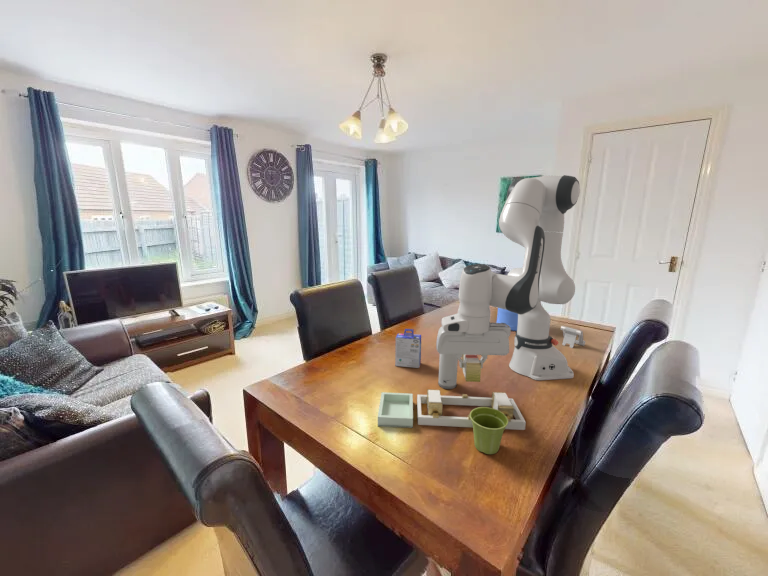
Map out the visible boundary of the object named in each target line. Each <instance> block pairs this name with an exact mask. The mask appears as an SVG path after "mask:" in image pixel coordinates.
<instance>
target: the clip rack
mask: <svg viewBox="0 0 768 576" xmlns="http://www.w3.org/2000/svg"><path fill="white" fill-rule="evenodd" d="M416 396H417V397H416V405H417V406H416V408H417V409H416V410H417V413H416V414H417V425H418V426H436V427H437V426H438V427H441V426H442V427H454V428H455V427H457V428H458V427H459V428H473V424H472V421H471V419H470V414H467V416H452V415H451V416H447V415H446V416H445V415H442V416H439V415H438V413H433V416H430V415H428V414H427V415H424V414H422V404H425V405H427V394H417V395H416ZM440 396H441V402H442V405H450V406H453V405H454V406H469V407H470V406H473V407H489V408H491V402H492V397H485V396H484V397H483V396H482V397H481V396H469V395H468V394H465V393H461V395H459V396H458V395H457V396H456V395H440ZM508 398H509V397H508ZM509 400H510V402H511V404H512V406H513V408H514V411H513V417H514V418H515V419H514V418H513V419H510V417H508V416H506V417H507V418H508V425H507V426H506V427H505V430H515V431H516V430H517V431H519V430H520V431H524V430H526V420H525V418H524V416H523V414H522V413H521V411H520V409H519V408H518V405H517V403H516V402H515V400H514V398H509Z"/></svg>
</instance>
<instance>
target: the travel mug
mask: <svg viewBox="0 0 768 576" xmlns="http://www.w3.org/2000/svg"><path fill="white" fill-rule="evenodd" d="M438 361H439V364H438V382H437V385H438V386H439V387H441V388H442V389H445V390H452V389H455V388H456V387H457V379H458V365H459V360H458V358H457V356H456V354H439V360H438Z"/></svg>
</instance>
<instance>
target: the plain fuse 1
mask: <svg viewBox="0 0 768 576" xmlns="http://www.w3.org/2000/svg"><path fill="white" fill-rule="evenodd" d="M426 395H427V404H426V407H427V415H430V416H433V413H438V415H439V416H443V404H442V402H441V396H442V395H441V390H440V389H429V388H428V389H427V390H426Z"/></svg>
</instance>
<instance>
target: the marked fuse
mask: <svg viewBox="0 0 768 576" xmlns="http://www.w3.org/2000/svg"><path fill="white" fill-rule="evenodd" d="M461 359H462V360H465V368H461V370H462V373H463V376H464V379H465V382H468V383H469V382H471V383H473V382H475V383H480V382H481V377H482V376H481V375H482V374H481V373H482V368H481V363H480V361H479V360H480V359H479V357H478V355H467V354H462V357H461Z"/></svg>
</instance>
